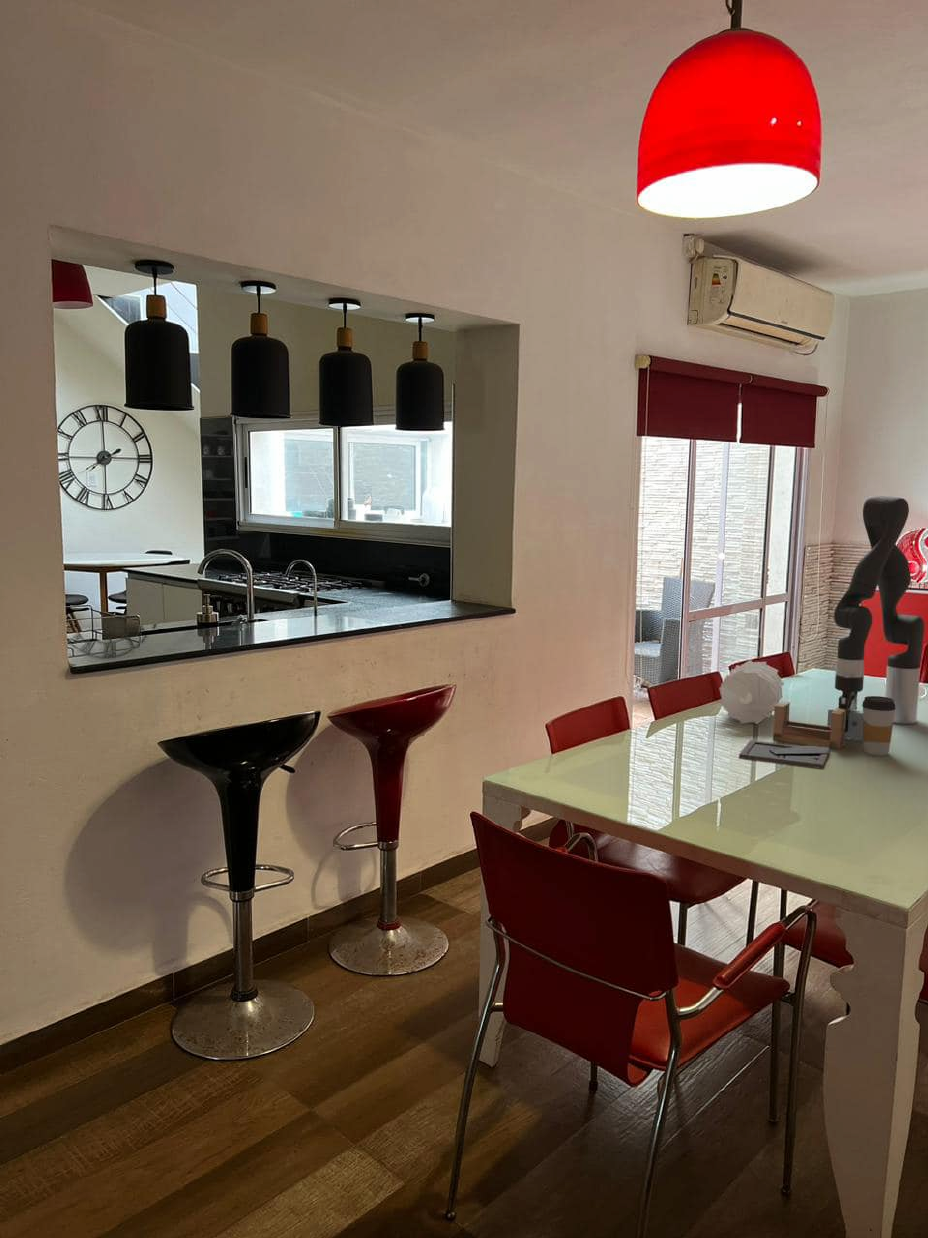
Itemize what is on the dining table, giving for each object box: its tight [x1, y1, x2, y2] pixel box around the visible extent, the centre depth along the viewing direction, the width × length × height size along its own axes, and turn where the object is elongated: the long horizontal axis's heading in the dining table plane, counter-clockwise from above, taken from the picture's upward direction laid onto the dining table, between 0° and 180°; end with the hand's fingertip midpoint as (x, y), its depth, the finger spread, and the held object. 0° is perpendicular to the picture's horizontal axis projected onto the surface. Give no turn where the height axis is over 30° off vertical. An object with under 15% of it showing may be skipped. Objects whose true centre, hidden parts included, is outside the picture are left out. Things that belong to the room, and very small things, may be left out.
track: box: [772, 700, 846, 750], centre depth 258 cm, size 7×18×10 cm, turn 56°
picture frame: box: [738, 739, 831, 769], centre depth 245 cm, size 16×2×21 cm
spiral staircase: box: [719, 659, 785, 725], centre depth 285 cm, size 18×18×25 cm
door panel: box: [826, 707, 863, 742], centre depth 263 cm, size 4×10×8 cm, turn 56°
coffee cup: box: [861, 695, 896, 757], centre depth 246 cm, size 8×8×15 cm
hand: (846, 728), depth 263 cm, fingers open, 8 cm apart
